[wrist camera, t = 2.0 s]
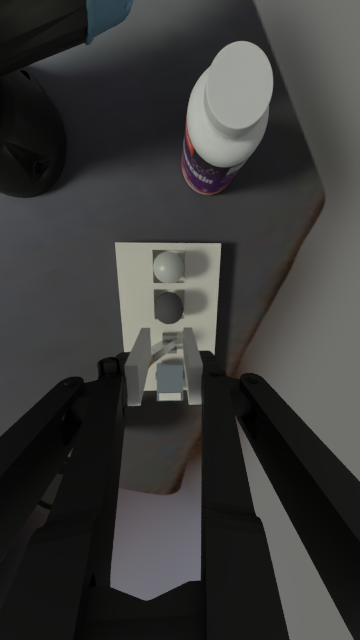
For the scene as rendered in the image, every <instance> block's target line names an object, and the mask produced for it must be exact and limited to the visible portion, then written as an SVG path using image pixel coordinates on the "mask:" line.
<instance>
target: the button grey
mask: <svg viewBox="0 0 360 640" xmlns="http://www.w3.org/2000/svg"><path fill="white" fill-rule="evenodd" d="M153 271H154V274H155V276H156V277H157V279H159V280H160V281H161V282H164V283H174V282H176V281H178V280H179V279H180V278H181V276H182V274H183V271H184V265H183V261H182V259H181V258H180V257H179V256H178V255H177V254H175V253H173V252H163V253H161V254H160V255H158V256H157V257H156V259H155V261H154V264H153Z"/></svg>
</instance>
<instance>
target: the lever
mask: <svg viewBox="0 0 360 640" xmlns="http://www.w3.org/2000/svg"><path fill="white" fill-rule="evenodd" d="M173 348H174V340H172V339H163V340H161V341H160V342H158V343H156V344H155V345H153V346H152V347H151V360H150V364H149V368H150V367H151V365H152V364H153V363H155V362H156V361H157V360H159V359H160V358H161V357H163V356H164V355H165V354H167V353H168V352H169V351H170V350H172V349H173Z"/></svg>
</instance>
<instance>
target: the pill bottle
mask: <svg viewBox="0 0 360 640" xmlns="http://www.w3.org/2000/svg"><path fill="white" fill-rule="evenodd" d="M272 91H273V74H272V69H271V65H270V62H269V60H268V58H267V56H266V55H265V53H264V52H263V51H262V50H261V49H260V48H259V47H258V46H257V45H255V44H253V43H250V42H247V41H237V42H233V43H231V44H229V45H227V46H226V47H224V48H223V49H222V50H221V51H220V52H219V53H218V54H217V55H216V57H215V58H214V60H213V62H212V64H211V66H210V67H209V68H208V69H207V70H206V71H205V72H204V73H203V74H202V75H201V77H200V78H199V79H198V81H197V82H196V84H195V86H194V88H193V90H192V93H191V96H190V99H189V104H188V110H187V117H186V127H185V135H184V144H183V152H182V171H183V175H184V177H185V180H186V181H187V183H188V184H189V186H190V187H191V188H192V189H193V190H195V191H196V192H198V193H201V194H204V195H212V194H216V193H218V192H220V191H222V190H223V189H224V188H225V187H226V186H227V185H228V184H229V183H230V182H231V180H232V179H233V178H234V177H235V175H236V174H237V173H238V171H239V170H240V169H241V167H242V166H243V165H244V164H245V162H246V161H247V160H248V158H249V157H250V156H251V155H252V153H253V152H254V151H255V149H256V148H257V147H258V145H259V143H260V142H261V140H262V138H263V135H264V133H265V130H266V126H267V122H268V116H269V103H270V100H271V96H272Z"/></svg>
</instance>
